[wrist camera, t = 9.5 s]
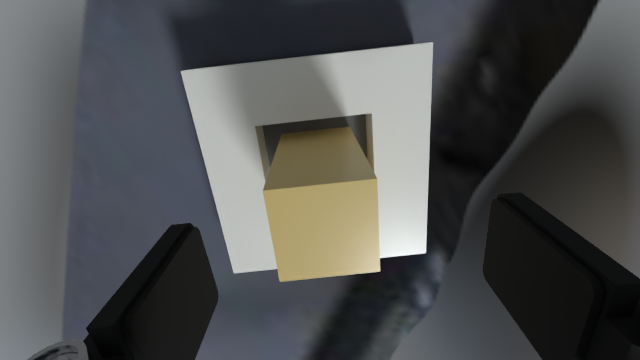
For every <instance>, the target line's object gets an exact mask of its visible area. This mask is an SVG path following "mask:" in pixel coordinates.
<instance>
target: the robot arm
mask: <svg viewBox="0 0 640 360" xmlns="http://www.w3.org/2000/svg"><path fill="white" fill-rule="evenodd" d="M483 274H484V277H485V279H486V281H487V282H488V284H489V285H490V287H491V288H492V290H493V291H494V292H495V294H496V295H497V297H498V298H499V299H500V301H501V302H502V304H503V305H504V306H505V308H506V309H507V311H508V312H509V313H510V315H511V316H512V318H513V319H514V320H515V322H516V323H517V324H518V326H519V327H520V329H521V330H522V331H523V333H524V334H525V336H526V337H527V339H528V340H529V342H530V343H531V344H532V346H533V347H534V349H535V350H536V351H537V352H538V354H539V355H540V357H541V358H542V360H640V279H639V278H638V277H637V276H635V275H634V274H633V273H631V272H630V271H628V270H627V269H625V268H624V267H623V266H622V265H620V264H619V263H617V262H616V261H615V260H613V259H612V258H611V257H609V256H608V255H606V254H605V253H604V252H602V251H601V250H600V249H598V248H597V247H595V246H594V245H593V244H591V243H590V242H589V241H587V240H586V239H584V238H583V237H582V236H580V235H579V234H578V233H576V232H575V231H573V230H572V229H571V228H569V227H568V226H567V225H565V224H564V223H562V222H561V221H560V220H558V219H557V218H556V217H554V216H553V215H551V214H550V213H549V212H547V211H546V210H544V209H543V208H542V207H540V206H539V205H538V204H536V203H535V202H534V201H532V200H531V199H529V198H528V197H527V196H525V195H524V194H522V193H508V194H500V195H498V197H497V199H494V200H493V201H492V203H491V210H490V217H489V225H488V233H487V240H486V248H485V255H484V263H483ZM217 302H218V290H217V286H216V283H215V280H214V277H213V273H212V270H211V267H210V264H209V260H208V257H207V254H206V250H205V247H204V244H203V241H202V237H201V234H200V231H199V229H198V228H197V227H194V226H193V225H192V224H191V223H186V224H176V225H171V226H170V227H169V228H168V229H167V231H166V232H165V233H164V234H163V235H162V237H161V238H160V239H159V240H158V241H157V243H156V244H155V245H154V246H153V248H152V249H151V250H150V251H149V252H148V254H147V255H146V256H145V257H144V259H143V260H142V261H141V262H140V263H139V265H138V266H137V267H136V268H135V269H134V271H133V272H132V273H131V274H130V276H129V277H128V278H127V279H126V280H125V282H124V283H123V284H122V285H121V286H120V288H119V289H118V290H117V291H116V293H115V294H114V295H113V296H112V297H111V299H110V300H109V301H108V302H107V303H106V305H105V306H104V307H103V308H102V310H101V311H100V312H99V313H98V314H97V316H96V317H95V318H94V319H93V321H92V322H91V323H90V324H89V325H88V327H87V328H86V329H87V331H88V333H89V335H88V336H87V337H86V338H85V340H84V341H83V342H82V341H80V340H78V339H76V340H65V341H61V342H58V343H55V344H53V345H51V346H48V347H46V348H44V349H43V350H41V351H39V352H37V353H36V354H34V355H33V356H32V357H30V358H29V359H27V360H195V358H196V355H197V353H198V350H199V348H200V345H201V343H202V340H203V338H204V335H205V333H206V330H207V327H208V325H209V322H210V320H211V317H212V315H213V312H214V310H215V307H216V305H217Z"/></svg>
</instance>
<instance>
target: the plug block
mask: <svg viewBox="0 0 640 360" xmlns="http://www.w3.org/2000/svg"><path fill="white" fill-rule="evenodd" d="M263 196H264V201H265V206H266V211H267V217H268V222H269V227H270V232H271V238H272V243H273V248H274V253H275V259H276V264H277V269H278V275H279V280H280V282H282V281H292V280H302V279H312V278H321V277H331V276H341V275H351V274H361V273H371V272H380V248H379V216H378V184H377V177H376V175H375V173H374V171H373V170H372V168H371V166H370V164H369V162H368V160H367V158H366V156H365V155H364V153H363V151H362V149H361V147H360V145H359V143H358V141H357V139H356V138H355V136H354V134H353V132H352V130H351V128H350V127H341V128H332V129H322V130H313V131H304V132H294V133H285V134H281V137H280V140H279V143H278V146H277V149H276V152H275V155H274V158H273V161H272V164H271V167H270V170H269V173H268V176H267V179H266V182H265V185H264V188H263Z"/></svg>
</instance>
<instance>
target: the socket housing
mask: <svg viewBox="0 0 640 360" xmlns="http://www.w3.org/2000/svg"><path fill="white" fill-rule="evenodd" d="M432 58H433V42H431V43H416V44H408V45H399V46H390V47H381V48H372V49H363V50H355V51H346V52H337V53H328V54H319V55H311V56H302V57H293V58H284V59H275V60H266V61H258V62H249V63H240V64H231V65H222V66H213V67H205V68H196V69H190V70H183V71H181V75H182V79H183V82H184V86H185V90H186V94H187V98H188V101H189V105H190V109H191V113H192V116H193V120H194V124H195V128H196V132H197V135H198V139H199V143H200V147H201V151H202V154H203V158H204V162H205V166H206V169H207V173H208V177H209V181H210V185H211V188H212V192H213V196H214V200H215V204H216V207H217V211H218V215H219V219H220V222H221V226H222V230H223V234H224V238H225V241H226V245H227V249H228V253H229V256H230V260H231V264H232V268H233V272H234V273H242V272H252V271H261V270H271V269H277V264H276V259H275V253H274V248H273V243H272V238H271V232H270V227H269V222H268V217H267V211H266V206H265V201H264V196H263V188H264V185H265V182H266V179H267V176H268V173H269V170H270V167H271V164H272V161H273V158H274V155H275V152H276V149H277V146H278V143H279V140H280V137H281V134H285V133H294V132H304V131H313V130H322V129H332V128H341V127H350V128H351V130H352V132H353V134H354V136H355V138H356V139H357V141H358V143H359V145H360V147H361V149H362V151H363V153H364V155H365V156H366V158H367V160H368V162H369V164H370V166H371V168H372V170H373V171H374V173H375V175H376V177H377V184H378V216H379V248H380V258H385V257H394V256H403V255H413V254H422V253H426V235H427V205H428V176H429V146H430V117H431V87H432Z"/></svg>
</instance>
